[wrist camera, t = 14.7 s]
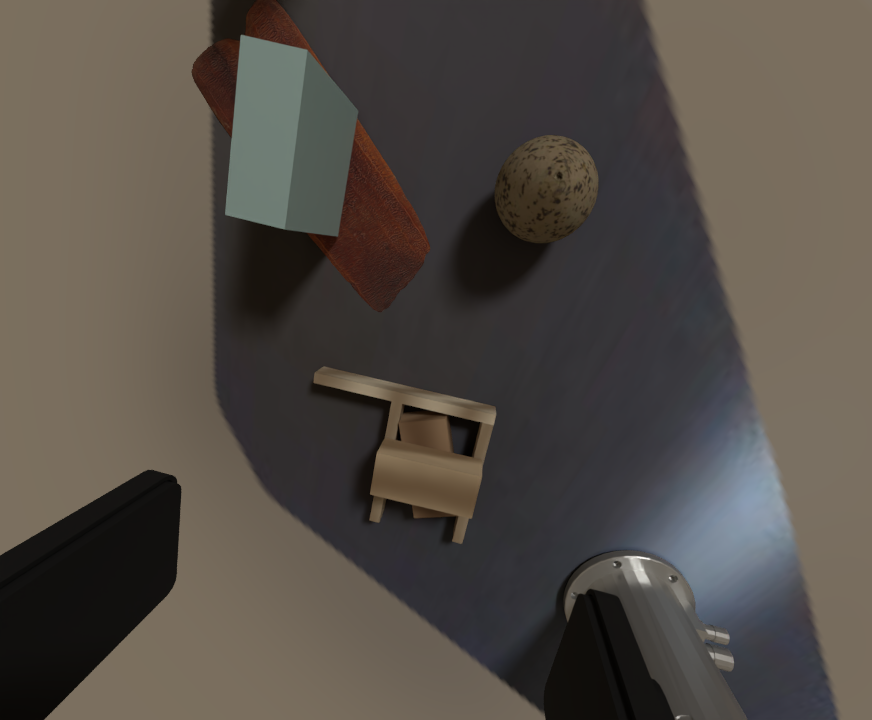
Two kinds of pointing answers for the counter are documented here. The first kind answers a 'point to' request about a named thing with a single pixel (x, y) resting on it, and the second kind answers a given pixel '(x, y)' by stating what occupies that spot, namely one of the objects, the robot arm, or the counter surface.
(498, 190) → the decorative egg
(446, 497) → the offcut upper
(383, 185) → the wooden tablet
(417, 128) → the counter surface
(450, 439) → the offcut lower
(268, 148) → the tall board
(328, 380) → the rack
